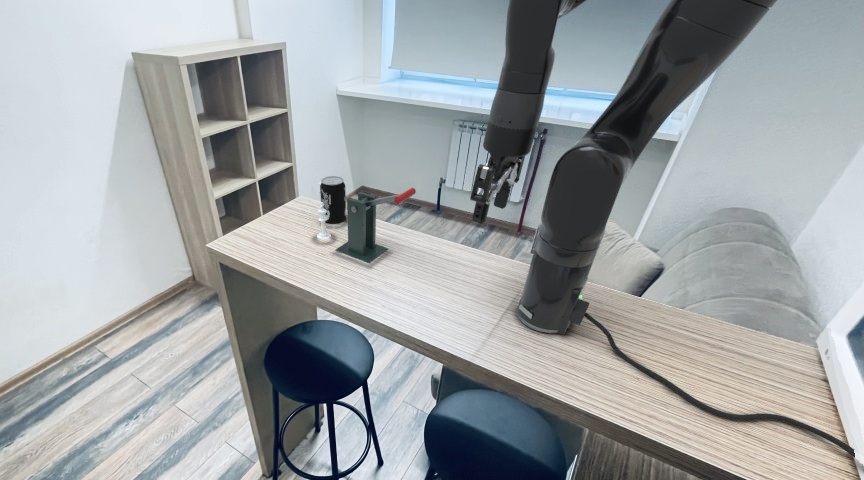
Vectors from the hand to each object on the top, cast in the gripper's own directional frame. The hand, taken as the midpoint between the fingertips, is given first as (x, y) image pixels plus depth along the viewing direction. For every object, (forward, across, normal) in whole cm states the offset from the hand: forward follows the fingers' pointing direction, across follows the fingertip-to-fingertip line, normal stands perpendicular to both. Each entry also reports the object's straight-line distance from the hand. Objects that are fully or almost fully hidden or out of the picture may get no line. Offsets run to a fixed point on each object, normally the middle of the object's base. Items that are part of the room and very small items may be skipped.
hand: (489, 214), depth 74 cm
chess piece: (+20, -3, +39) cm, 44 cm away
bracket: (+19, -2, +27) cm, 33 cm away
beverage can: (+20, +6, +44) cm, 48 cm away
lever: (+5, -2, +22) cm, 23 cm away
